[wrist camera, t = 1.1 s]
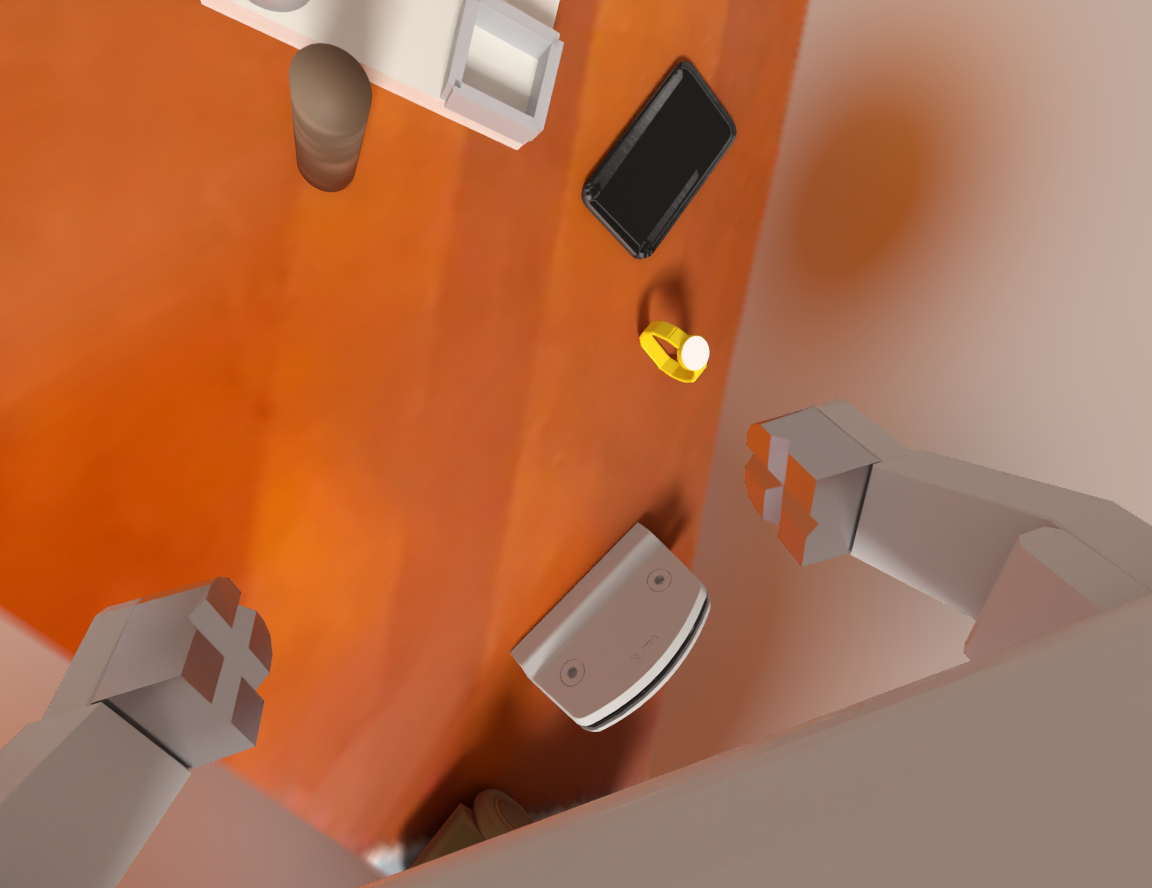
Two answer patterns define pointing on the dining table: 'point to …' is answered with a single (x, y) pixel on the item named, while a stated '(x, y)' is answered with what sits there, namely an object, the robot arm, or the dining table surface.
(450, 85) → the stool
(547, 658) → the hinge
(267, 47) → the dining table surface
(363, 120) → the loose leg
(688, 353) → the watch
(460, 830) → the wooden toy train
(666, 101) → the phone
